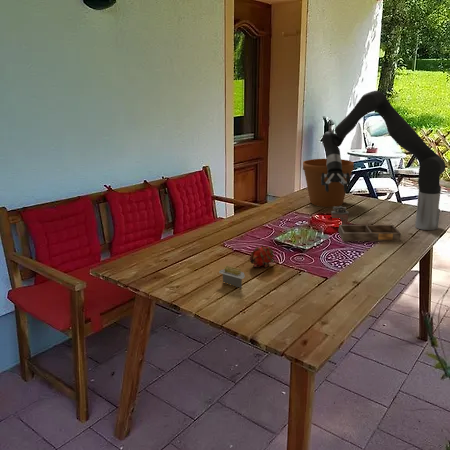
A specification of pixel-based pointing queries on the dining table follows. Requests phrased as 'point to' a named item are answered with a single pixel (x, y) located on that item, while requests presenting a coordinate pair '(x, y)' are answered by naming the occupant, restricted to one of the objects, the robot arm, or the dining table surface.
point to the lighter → (340, 214)
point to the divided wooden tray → (369, 233)
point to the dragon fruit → (262, 256)
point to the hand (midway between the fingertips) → (336, 191)
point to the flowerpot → (313, 180)
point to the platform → (232, 276)
